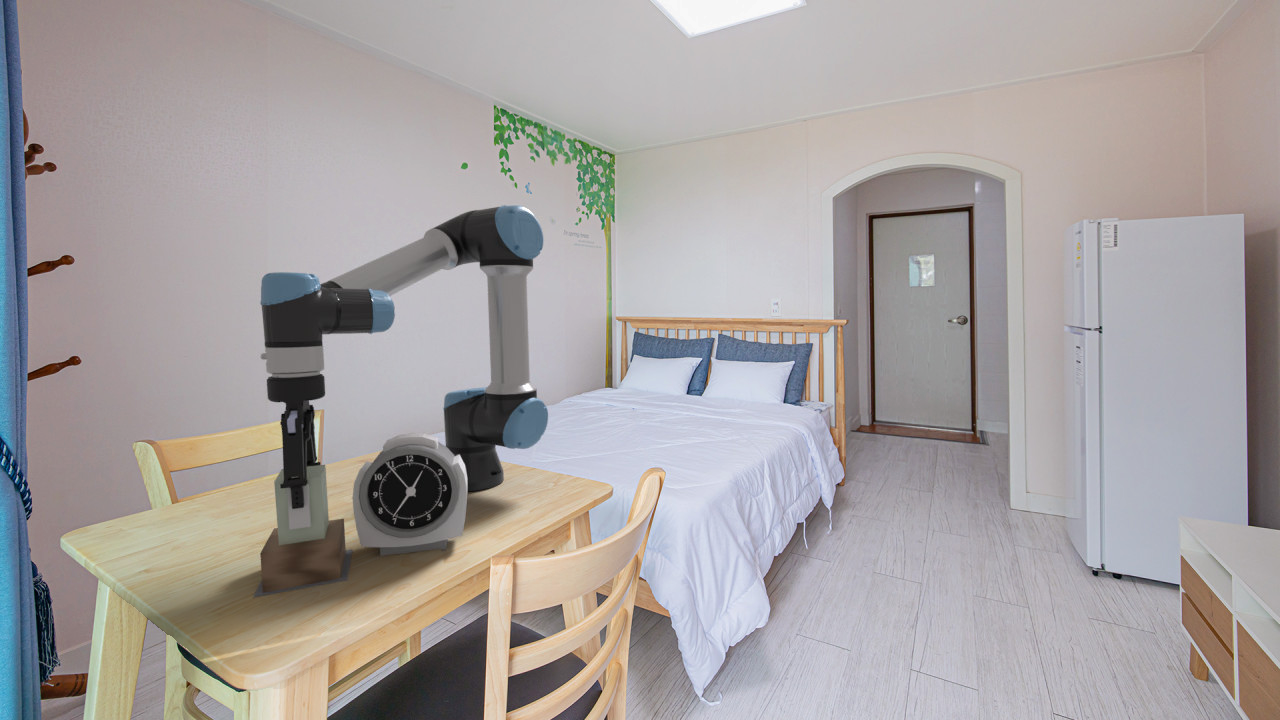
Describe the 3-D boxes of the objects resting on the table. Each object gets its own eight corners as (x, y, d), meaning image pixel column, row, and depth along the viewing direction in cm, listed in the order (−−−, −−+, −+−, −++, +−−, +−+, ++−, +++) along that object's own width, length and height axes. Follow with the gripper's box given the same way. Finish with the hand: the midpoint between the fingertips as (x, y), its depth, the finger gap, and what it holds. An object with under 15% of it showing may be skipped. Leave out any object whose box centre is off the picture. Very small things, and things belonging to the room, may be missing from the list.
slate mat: (352, 551, 93) (352, 548, 93) (347, 582, 82) (347, 579, 82) (270, 564, 88) (270, 562, 88) (253, 600, 77) (252, 597, 77)
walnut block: (345, 552, 92) (343, 518, 91) (340, 578, 83) (338, 540, 82) (276, 563, 87) (274, 528, 87) (262, 592, 78) (260, 553, 78)
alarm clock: (353, 565, 88) (347, 444, 86) (364, 543, 96) (359, 433, 94) (468, 551, 93) (464, 436, 91) (469, 532, 101) (466, 426, 99)
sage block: (328, 522, 88) (325, 464, 87) (324, 538, 83) (321, 476, 82) (286, 529, 86) (281, 469, 85) (278, 545, 80) (274, 481, 79)
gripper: (279, 369, 90) (287, 501, 92) (250, 383, 72) (261, 547, 73) (330, 367, 93) (337, 494, 95) (315, 380, 75) (324, 538, 77)
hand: (304, 517), depth 84 cm, fingers open, 7 cm apart
